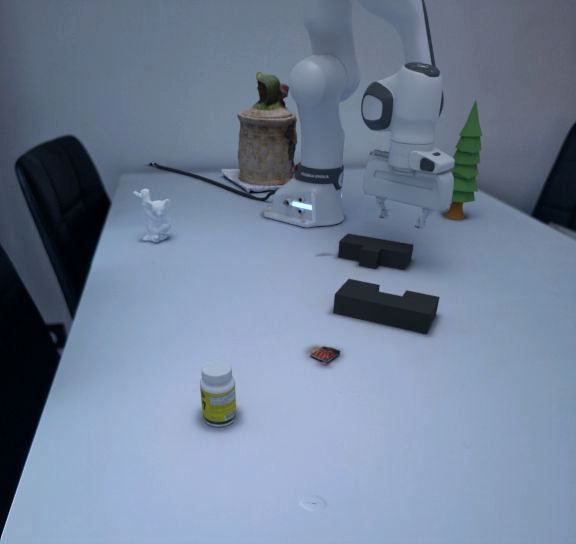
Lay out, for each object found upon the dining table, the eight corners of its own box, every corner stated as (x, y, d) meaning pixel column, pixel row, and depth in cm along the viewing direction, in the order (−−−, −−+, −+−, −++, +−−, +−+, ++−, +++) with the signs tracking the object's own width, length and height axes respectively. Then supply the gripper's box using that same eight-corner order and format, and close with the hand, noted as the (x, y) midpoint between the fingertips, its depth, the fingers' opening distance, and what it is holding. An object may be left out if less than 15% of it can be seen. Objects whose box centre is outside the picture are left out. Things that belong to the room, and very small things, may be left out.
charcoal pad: (333, 313, 101) (334, 293, 99) (347, 296, 107) (348, 278, 105) (426, 334, 95) (430, 314, 93) (435, 315, 101) (439, 296, 99)
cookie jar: (248, 194, 166) (246, 76, 147) (219, 176, 183) (214, 68, 165) (317, 186, 175) (323, 75, 157) (283, 169, 193) (285, 67, 175)
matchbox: (341, 351, 90) (341, 348, 89) (331, 366, 86) (331, 363, 86) (315, 344, 91) (316, 342, 91) (304, 359, 87) (304, 357, 87)
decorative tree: (435, 218, 151) (457, 99, 134) (440, 209, 158) (461, 95, 141) (470, 223, 148) (497, 102, 131) (474, 213, 155) (500, 97, 138)
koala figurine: (136, 243, 129) (128, 192, 122) (145, 233, 135) (138, 185, 128) (169, 245, 129) (164, 194, 122) (177, 235, 134) (172, 186, 127)
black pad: (334, 261, 123) (335, 244, 120) (346, 249, 129) (347, 233, 127) (401, 274, 117) (404, 256, 115) (411, 261, 124) (413, 244, 122)
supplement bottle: (203, 407, 76) (199, 357, 72) (236, 406, 77) (234, 357, 72) (202, 428, 73) (197, 377, 68) (236, 427, 73) (234, 376, 68)
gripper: (360, 150, 113) (354, 215, 121) (447, 166, 102) (434, 237, 110) (376, 145, 117) (370, 209, 125) (462, 161, 106) (449, 229, 114)
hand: (400, 222), depth 117 cm, fingers open, 8 cm apart
